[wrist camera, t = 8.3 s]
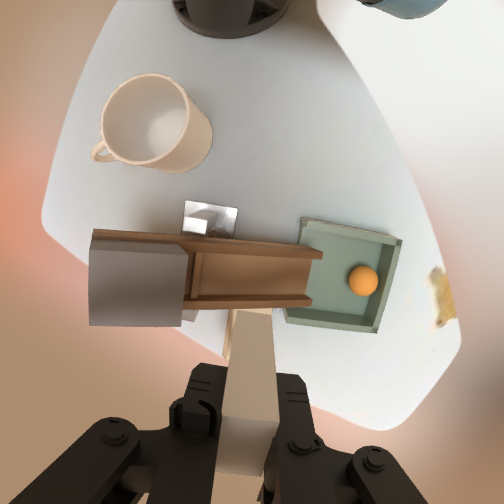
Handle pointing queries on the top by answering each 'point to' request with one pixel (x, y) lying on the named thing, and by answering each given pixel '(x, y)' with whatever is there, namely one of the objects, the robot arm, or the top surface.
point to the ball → (363, 281)
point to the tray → (344, 276)
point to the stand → (207, 228)
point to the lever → (191, 278)
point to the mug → (153, 126)
